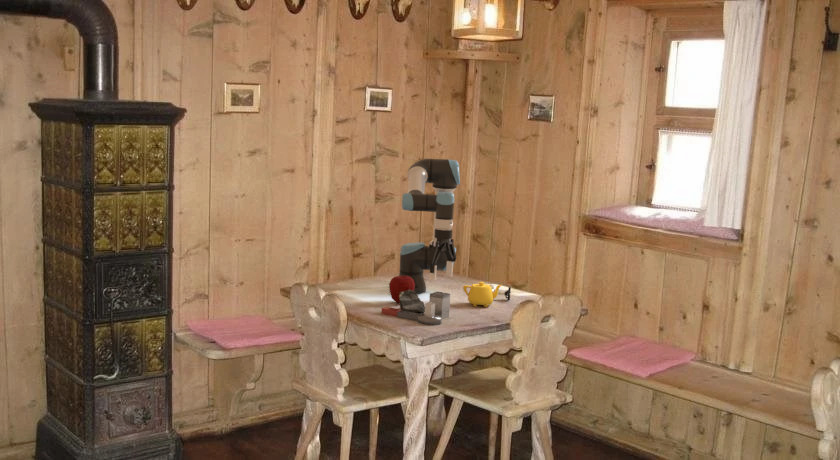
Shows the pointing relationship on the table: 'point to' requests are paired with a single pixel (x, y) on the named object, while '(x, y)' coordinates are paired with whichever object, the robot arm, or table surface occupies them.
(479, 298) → the teapot
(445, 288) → the table surface
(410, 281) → the apple
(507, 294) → the valve
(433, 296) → the grey upright rectangular block
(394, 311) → the ratchet
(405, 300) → the rock
